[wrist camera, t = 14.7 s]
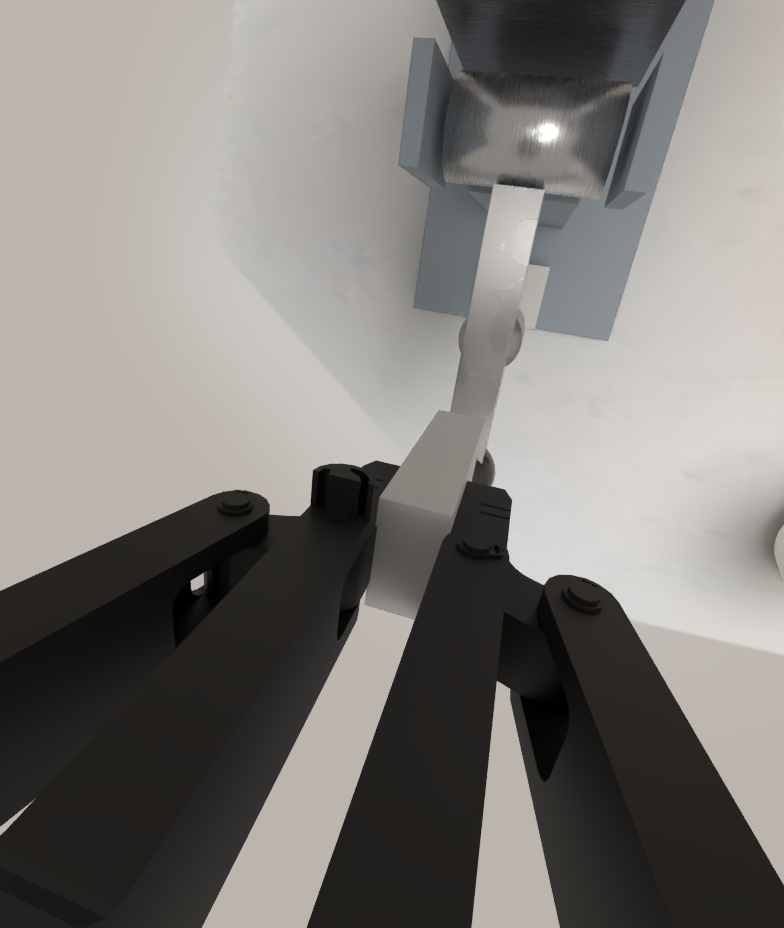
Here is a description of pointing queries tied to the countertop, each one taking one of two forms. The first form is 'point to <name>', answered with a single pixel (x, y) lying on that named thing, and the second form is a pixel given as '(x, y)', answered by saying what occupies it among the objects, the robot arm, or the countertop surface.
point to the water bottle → (780, 550)
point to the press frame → (548, 196)
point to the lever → (532, 146)
